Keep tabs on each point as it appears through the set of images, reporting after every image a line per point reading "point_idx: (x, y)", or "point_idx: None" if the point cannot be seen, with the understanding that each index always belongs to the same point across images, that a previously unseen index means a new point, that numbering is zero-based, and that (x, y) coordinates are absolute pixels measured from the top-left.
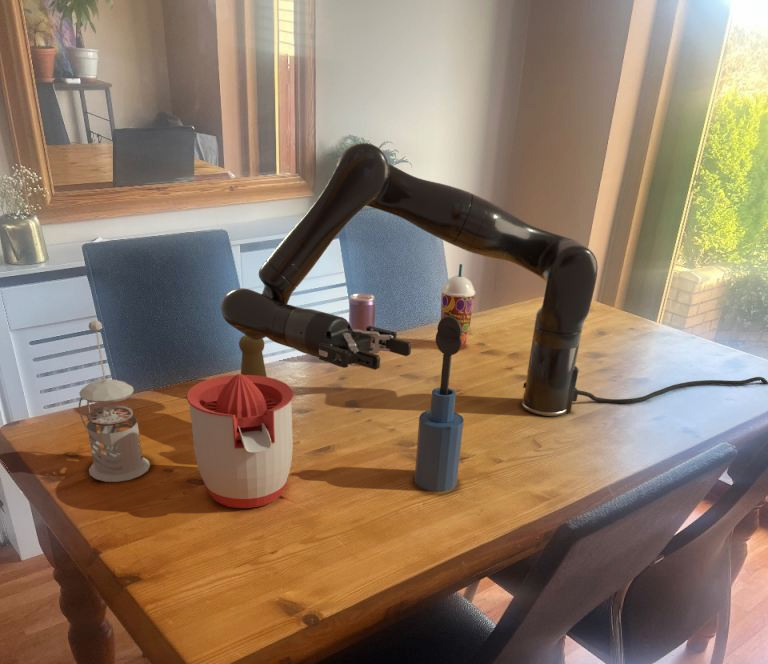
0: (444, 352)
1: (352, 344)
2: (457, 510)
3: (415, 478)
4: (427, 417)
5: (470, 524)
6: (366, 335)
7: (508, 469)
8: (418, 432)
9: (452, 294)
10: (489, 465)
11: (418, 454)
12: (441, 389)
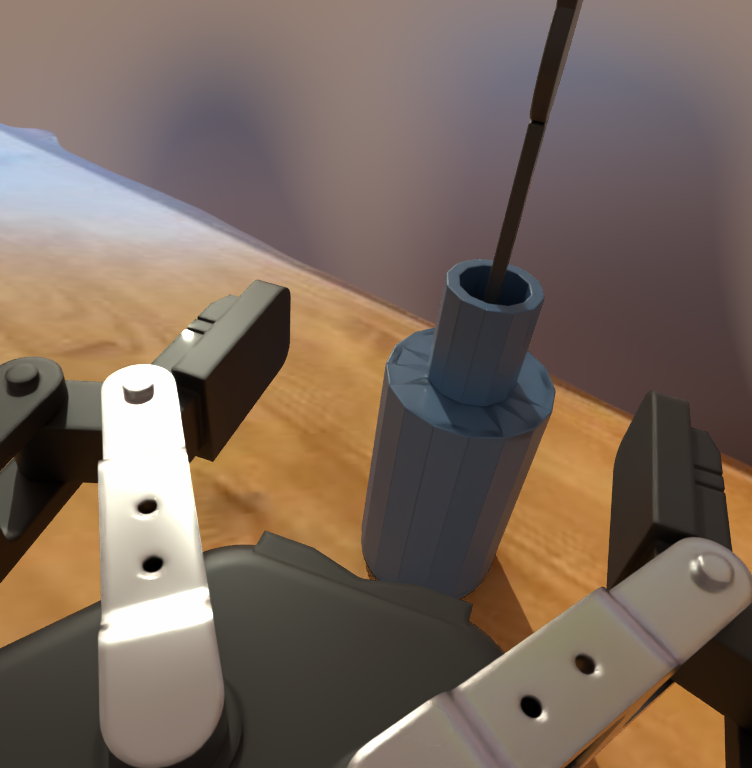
0: (549, 112)
1: (635, 621)
2: (534, 476)
3: (463, 587)
4: (491, 414)
5: (576, 446)
6: (206, 569)
7: (266, 396)
8: (496, 480)
9: None
10: (255, 433)
11: (498, 522)
12: (502, 282)
